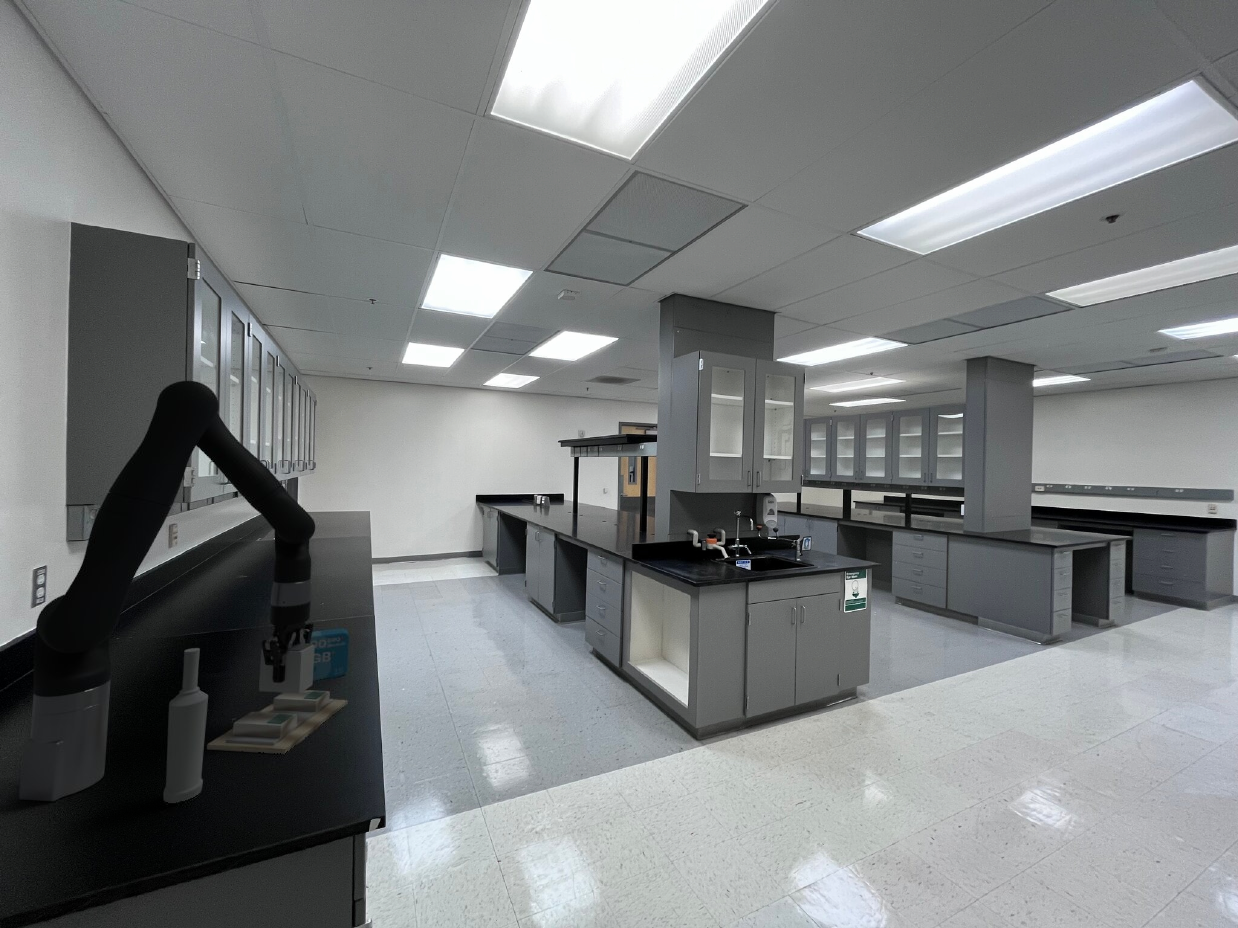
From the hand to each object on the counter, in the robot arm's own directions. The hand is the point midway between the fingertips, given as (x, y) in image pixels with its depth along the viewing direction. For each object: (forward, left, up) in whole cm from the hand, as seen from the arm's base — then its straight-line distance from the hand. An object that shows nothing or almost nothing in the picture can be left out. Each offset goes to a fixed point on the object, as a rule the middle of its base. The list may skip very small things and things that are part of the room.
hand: (286, 676), depth 112 cm
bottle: (-25, 0, -11) cm, 27 cm away
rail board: (0, 0, -11) cm, 11 cm away
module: (0, 0, -2) cm, 2 cm away
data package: (+26, +8, -11) cm, 29 cm away
